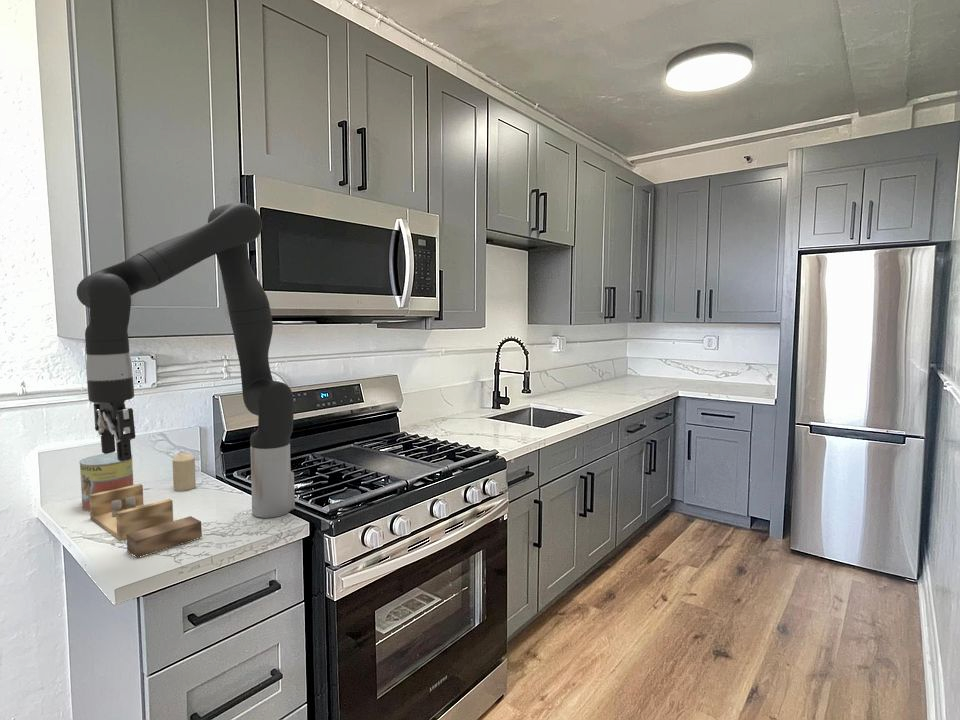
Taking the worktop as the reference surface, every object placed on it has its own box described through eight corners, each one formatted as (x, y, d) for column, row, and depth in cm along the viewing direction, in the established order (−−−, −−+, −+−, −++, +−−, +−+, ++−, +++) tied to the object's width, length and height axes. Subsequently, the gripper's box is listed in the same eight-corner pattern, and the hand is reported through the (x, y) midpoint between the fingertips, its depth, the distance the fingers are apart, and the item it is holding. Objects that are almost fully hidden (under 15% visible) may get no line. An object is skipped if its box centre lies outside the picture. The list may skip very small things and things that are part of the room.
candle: (189, 491, 151) (188, 456, 150) (169, 491, 151) (168, 456, 150) (199, 485, 157) (198, 451, 156) (180, 484, 157) (178, 450, 156)
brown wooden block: (191, 533, 124) (190, 516, 124) (201, 538, 121) (201, 521, 121) (127, 552, 114) (126, 534, 113) (137, 559, 111) (136, 540, 110)
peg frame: (141, 506, 139) (140, 483, 139) (173, 525, 128) (172, 500, 127) (90, 519, 131) (89, 494, 130) (120, 540, 119) (118, 513, 118)
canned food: (73, 506, 139) (70, 460, 138) (120, 493, 149) (118, 450, 148) (95, 515, 133) (92, 467, 132) (143, 501, 143) (141, 456, 142)
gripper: (145, 377, 106) (151, 458, 107) (118, 371, 114) (124, 446, 116) (100, 381, 100) (107, 467, 102) (75, 375, 109) (82, 454, 110)
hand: (116, 456), depth 109 cm, fingers open, 8 cm apart
